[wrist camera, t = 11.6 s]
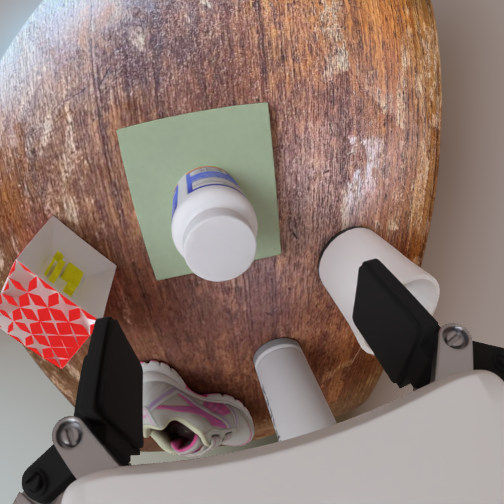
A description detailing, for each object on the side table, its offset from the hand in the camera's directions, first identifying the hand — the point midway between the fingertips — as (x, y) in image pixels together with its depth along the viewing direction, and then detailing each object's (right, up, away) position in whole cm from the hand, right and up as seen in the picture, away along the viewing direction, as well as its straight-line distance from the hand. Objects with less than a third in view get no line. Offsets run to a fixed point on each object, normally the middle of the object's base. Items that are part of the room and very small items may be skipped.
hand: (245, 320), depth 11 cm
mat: (-4, +7, +14) cm, 16 cm away
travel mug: (+3, -10, +26) cm, 28 cm away
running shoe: (-8, -18, +27) cm, 34 cm away
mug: (+11, +1, +22) cm, 24 cm away
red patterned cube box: (-18, +1, +14) cm, 23 cm away
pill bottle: (-4, +7, +14) cm, 16 cm away
